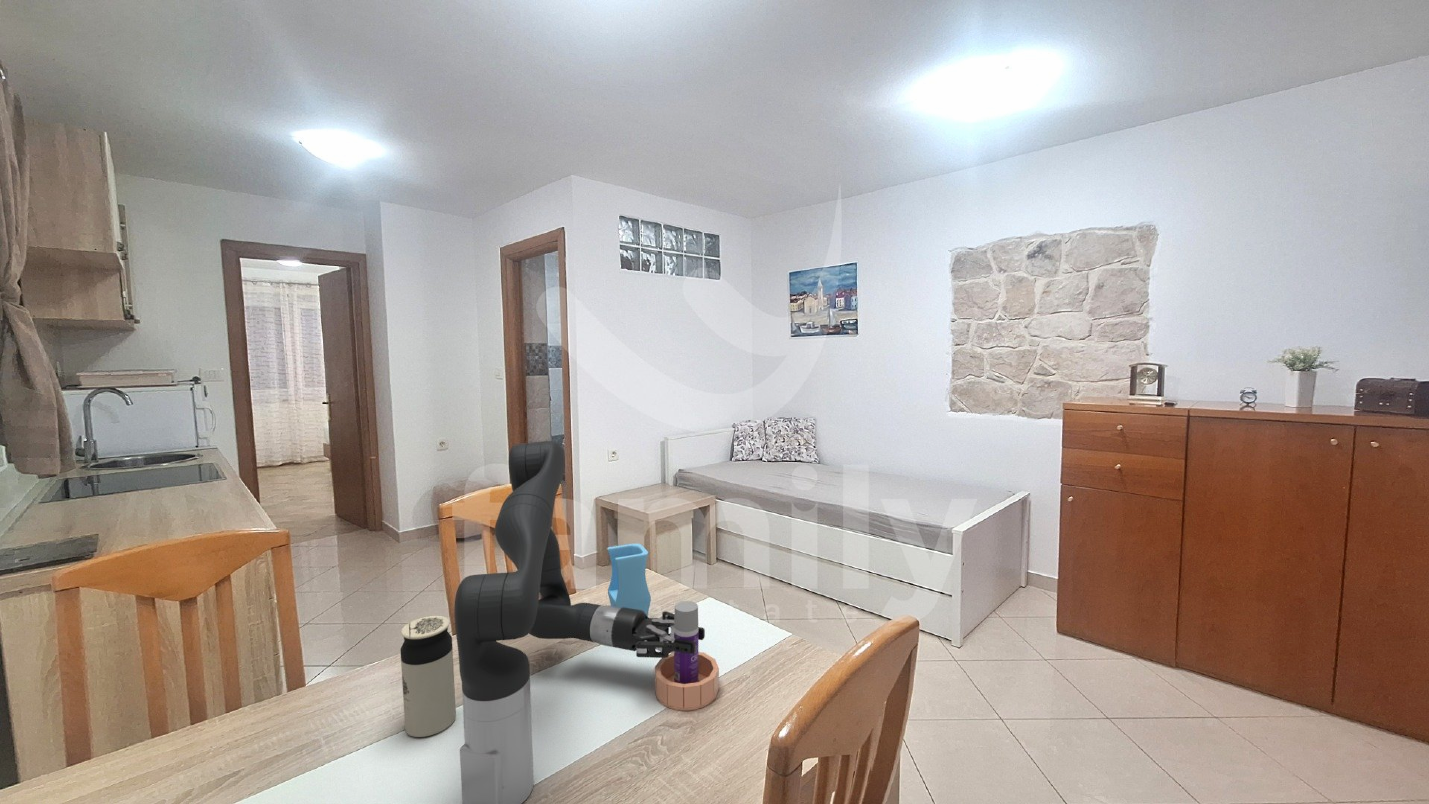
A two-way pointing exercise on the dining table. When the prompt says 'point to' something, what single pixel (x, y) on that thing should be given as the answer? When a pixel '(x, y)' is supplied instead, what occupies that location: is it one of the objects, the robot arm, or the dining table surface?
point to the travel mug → (427, 676)
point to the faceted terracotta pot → (687, 694)
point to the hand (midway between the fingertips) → (699, 640)
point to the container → (687, 631)
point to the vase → (629, 577)
